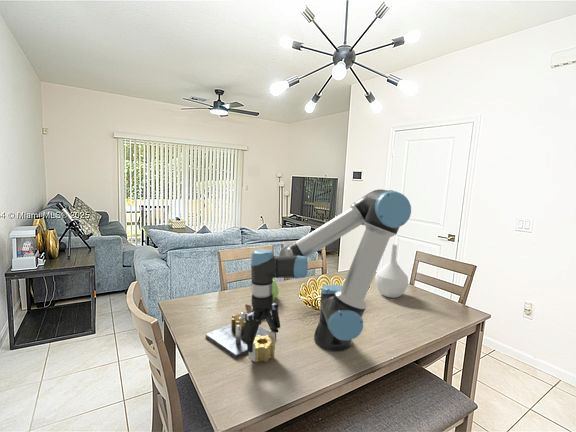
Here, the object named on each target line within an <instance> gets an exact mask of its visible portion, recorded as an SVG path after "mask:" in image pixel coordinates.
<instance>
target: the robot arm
mask: <svg viewBox="0 0 576 432" xmlns="http://www.w3.org/2000/svg"><path fill="white" fill-rule="evenodd" d="M411 214H412V206H411V203H410V201H409V199H408V198H407V196H406V195H405V194H403V193H401V192H398V191H395V190H391V189H390V190H386V189H375V190H372V191H371V192H368V193H367V194H365V195H363V197H361V198H359V199H357V200H355V202H353V203H351V204H350V207H349V208H347V210H345V211H343V212H342V213H340V214H339V215H337V216H335V217H334V218H332V219H330V220H329V221H327V222H326V223H324V224H322V225H321V226H319V227H318V228H316V229H315V230H312V231H311V232H310V233H308V234H306V235H305V236H303V237H301V238H300V239H298V240H297V241H294V243H291V244H290V245H289V244H288V245H285V246H283V247H282V248H281V250H280V252H279V255H274V252H273V251H272V250H271V249H266V248H261V249H256V250H254V251H253V252H252V253H251V263H250V268H251V269H250V270H251V305H252V306H253V310H252V312H251V313H250V314H247V313H248V312H245V319H246V321H245V327H244V333H243V339H242V342H244V343H246V344H247V350H248V352H249V353H248V359H249V360H251V361H252V362H256V361H255V342H254V339H255V336H256V333H257V330H258V327H260V325H261V324H262V321H264V320H265V321H266V323H267V325H268V327H269V329H270V330H268V332H269V338H274V339H275V340H277V339H276V338H277V333H279V329H280V328H281V322H280V321H281V320H280V315H279V304H277V303H275V302H274V301H273V294H272V293H273V279H277V278H278V279H279V278H282V279H283V278H284V279H301V278H306V277H308V271H309V269H308V268H309V266H308V265H309V264H308V263H309V262H308V258H309V257H311V256H313V255H314V254H315V253H317V252H318V251H320V250H321V249H324V248H325V247H327V246H329V245H330V244H332V243H334V242H335V241H336V240H338V239H340V238H342V237H343V236H344V235H347V234H348V233H350V232H351V231H353V230H355V229H357V228H358V227H360V226H365V230H364V232H363V235H362V237H361V239H360V242H359V244H358V247H357V248H356V249H357V250H356V252H355V255H354V257H353V259H352V262H351V264H350V266H349V269H348V271H347V275H346V276H345V279H344V281H343V284H342V285H340V284H339V285H338V284H327V285H324V286H322V287H321V291H320V304H319V305H320V309H319V321H318V324H317V326H316V328H315V331H314V335H313V337H314V338H313V341H314V343H315V345H317V346H318V347H320V348H322V349H324V350H327V351H329V352H330V351H332V352H342V351H346V350H348V349H349V348H351V346H352V341H353V339H354V340H355V339H356V338H358V337H359V336H360V335H361V333H363V329H364V320H363V315H364V313H365V310H366V308H367V305H366V301H365V298H366V296H367V294H368V291H369V289H370V286H371V284H372V282H373V279H374V277H375V276H376V273H377V270H378V267H379V265H380V262H381V261H382V258H383V256H384V253H385V251H386V248H387V246H388V243H389V241H390V239H391V238H392V237H394V236H396V235H397V234H398V232H399V229H400V227H402V226H404V225H405V224H406V223H407V222H408V221H409V220H410V218H411V216H412V215H411Z"/></svg>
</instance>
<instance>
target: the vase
mask: <svg viewBox="0 0 576 432" xmlns="http://www.w3.org/2000/svg"><path fill="white" fill-rule="evenodd" d="M397 250H398V245H397V244H392V245H391V252H390V260H389V261H388V262H387V263H386V264H385V265H383V267H381V268H380V269H379V270H378V271H376V272H375V275H374V277H375V279H374V281H375V285H376V288H377V290H378V292H379V293H380V294H381V295H382V296H384V297H387V298H390V299H392V298H393V299H396V298H399V297H401V296H402V295H403V294H404V293H405V292H406V290H407V288H408V286H409V276H408V275H407V274H406V273H405V271H404V270H403V269H402V268H401V266H400V265H399V264H398V262H397V254H398V253H397Z"/></svg>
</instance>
